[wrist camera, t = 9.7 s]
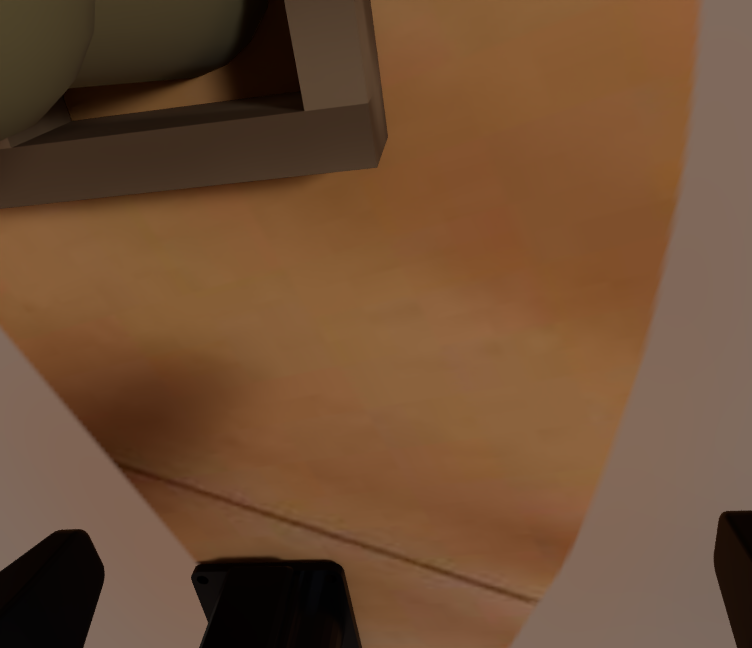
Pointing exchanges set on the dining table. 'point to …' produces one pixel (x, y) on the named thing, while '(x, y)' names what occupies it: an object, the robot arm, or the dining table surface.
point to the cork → (110, 46)
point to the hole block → (219, 126)
